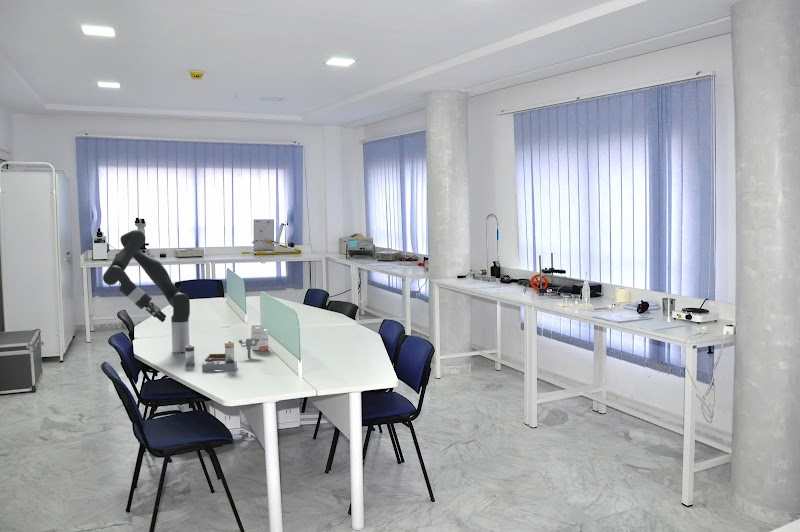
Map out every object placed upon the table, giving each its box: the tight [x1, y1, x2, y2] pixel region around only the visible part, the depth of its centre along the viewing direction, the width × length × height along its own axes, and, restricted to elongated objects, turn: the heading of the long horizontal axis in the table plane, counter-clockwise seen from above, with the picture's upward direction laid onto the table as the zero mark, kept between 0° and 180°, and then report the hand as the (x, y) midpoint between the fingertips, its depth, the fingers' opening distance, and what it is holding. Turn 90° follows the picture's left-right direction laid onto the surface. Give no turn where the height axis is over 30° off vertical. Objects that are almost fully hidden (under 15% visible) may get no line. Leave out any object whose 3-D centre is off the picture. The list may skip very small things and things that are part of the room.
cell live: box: [224, 341, 235, 363], centre depth 321 cm, size 4×4×11 cm
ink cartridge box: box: [250, 324, 269, 352], centre depth 363 cm, size 9×5×15 cm, turn 76°
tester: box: [201, 360, 238, 372], centre depth 321 cm, size 6×16×4 cm, turn 96°
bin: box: [204, 353, 225, 361], centre depth 334 cm, size 11×11×4 cm
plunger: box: [206, 358, 214, 364], centre depth 320 cm, size 4×4×5 cm
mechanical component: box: [238, 338, 259, 358], centre depth 346 cm, size 3×10×10 cm, turn 111°
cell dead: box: [184, 344, 196, 367], centre depth 328 cm, size 4×4×11 cm
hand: (164, 319), depth 323 cm, fingers open, 8 cm apart
